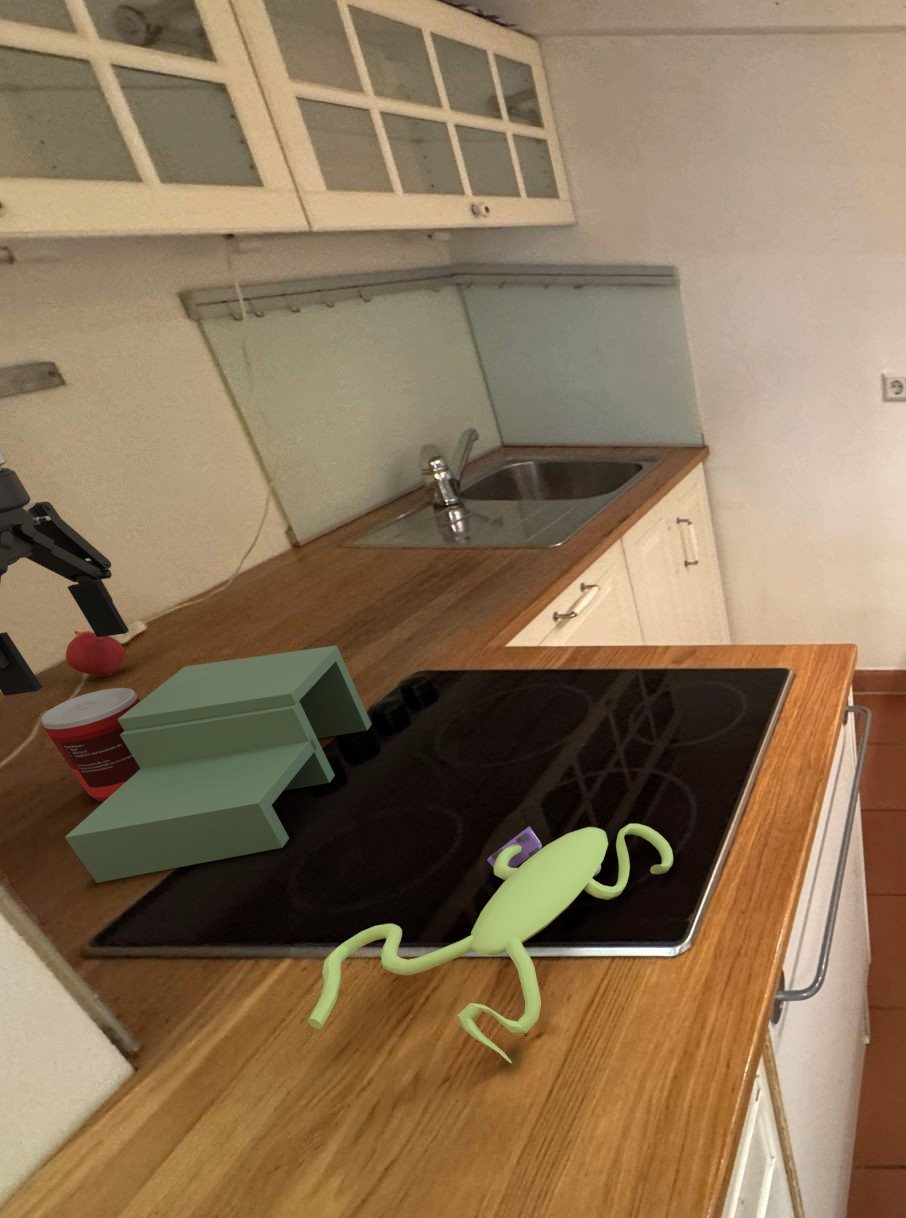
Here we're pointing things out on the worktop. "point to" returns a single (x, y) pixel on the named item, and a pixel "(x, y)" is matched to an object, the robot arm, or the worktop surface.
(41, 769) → the worktop surface
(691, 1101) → the worktop surface
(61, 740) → the canned food
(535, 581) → the worktop surface
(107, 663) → the onion
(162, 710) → the step rack
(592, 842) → the figurine
